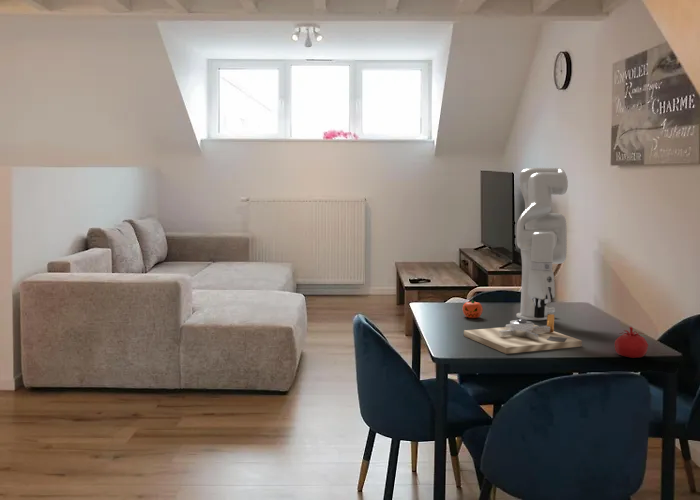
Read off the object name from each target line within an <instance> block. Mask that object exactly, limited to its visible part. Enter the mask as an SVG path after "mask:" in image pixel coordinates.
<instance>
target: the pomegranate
mask: <svg viewBox="0 0 700 500" xmlns="http://www.w3.org/2000/svg"><path fill="white" fill-rule="evenodd" d="M633 330H634V328H633V327H632V326H630V327H629V330H625V329H624V332H619V334H620V335H619V336H618V337H617V338H616V339H615V341H614V350H615V352H616V354H617V355H619V356H622V357H626V358H631V359H636V358H638V359H639V358H643V357H644V356H646V354H647V353H648V348H649V343H648V342H647V340H646V339H645V337H644V336H642V335H640V333H639V332H637V331H636V330H635V331H633ZM621 334H622V335H621ZM641 334H643V335H644V333H642V332H641Z"/></svg>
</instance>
